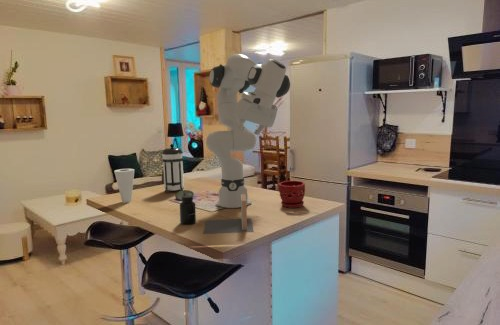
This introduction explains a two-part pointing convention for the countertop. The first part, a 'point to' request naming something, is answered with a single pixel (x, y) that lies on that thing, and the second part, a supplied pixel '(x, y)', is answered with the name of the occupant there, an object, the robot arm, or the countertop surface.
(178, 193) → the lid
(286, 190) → the plant pot
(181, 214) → the supplement bottle
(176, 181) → the coffee press
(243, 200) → the tile
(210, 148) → the robot arm
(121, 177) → the cup
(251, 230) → the mat
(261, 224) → the countertop surface
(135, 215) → the countertop surface
